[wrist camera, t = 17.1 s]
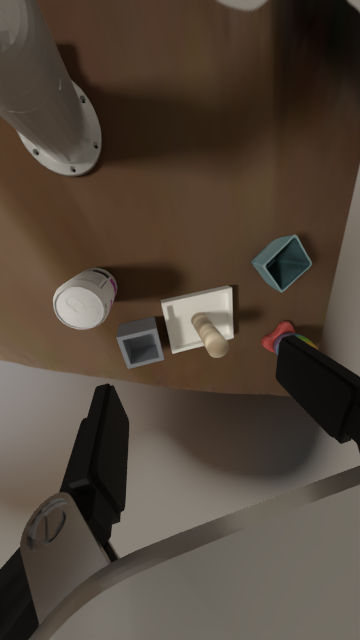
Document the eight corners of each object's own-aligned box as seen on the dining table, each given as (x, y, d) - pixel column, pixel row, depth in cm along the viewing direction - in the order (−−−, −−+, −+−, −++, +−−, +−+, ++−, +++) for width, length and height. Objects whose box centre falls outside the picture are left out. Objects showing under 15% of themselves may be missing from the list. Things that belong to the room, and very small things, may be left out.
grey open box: (119, 324, 46) (116, 337, 40) (154, 316, 47) (156, 328, 41) (129, 352, 50) (127, 368, 44) (161, 344, 51) (164, 359, 45)
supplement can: (125, 288, 43) (119, 312, 29) (98, 309, 43) (80, 341, 30) (98, 259, 39) (78, 271, 26) (70, 282, 40) (35, 306, 26)
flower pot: (241, 261, 46) (262, 266, 38) (268, 233, 44) (296, 233, 36) (258, 284, 49) (281, 293, 41) (284, 259, 48) (313, 264, 40)
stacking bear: (285, 317, 56) (342, 349, 40) (298, 335, 60) (355, 370, 45) (258, 341, 58) (303, 380, 42) (273, 357, 62) (319, 398, 46)
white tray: (160, 300, 46) (161, 303, 43) (227, 285, 48) (231, 287, 45) (171, 348, 52) (172, 353, 50) (229, 333, 54) (233, 337, 52)
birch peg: (190, 314, 48) (207, 342, 35) (206, 310, 48) (228, 337, 36) (192, 328, 50) (209, 359, 37) (207, 325, 50) (229, 354, 38)
